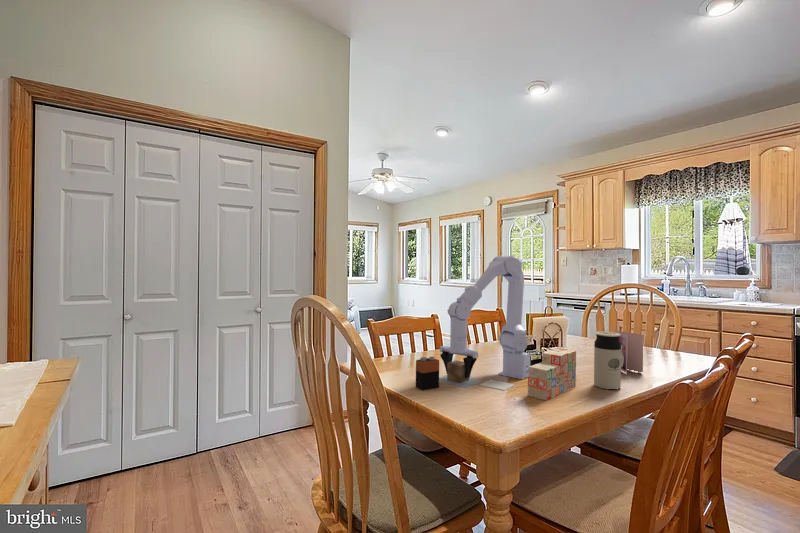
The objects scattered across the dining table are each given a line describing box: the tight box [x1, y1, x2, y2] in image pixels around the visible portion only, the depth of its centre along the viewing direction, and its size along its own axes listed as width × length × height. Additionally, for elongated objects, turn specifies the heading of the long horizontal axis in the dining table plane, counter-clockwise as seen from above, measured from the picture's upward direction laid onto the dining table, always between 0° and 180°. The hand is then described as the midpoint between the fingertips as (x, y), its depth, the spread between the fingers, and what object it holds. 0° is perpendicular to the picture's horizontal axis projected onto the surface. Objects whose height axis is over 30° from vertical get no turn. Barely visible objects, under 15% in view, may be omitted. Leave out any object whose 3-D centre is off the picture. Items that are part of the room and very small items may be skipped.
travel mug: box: [593, 331, 622, 390], centre depth 135 cm, size 8×8×18 cm
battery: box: [415, 356, 440, 391], centre depth 132 cm, size 4×7×10 cm, turn 121°
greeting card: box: [614, 330, 644, 374], centre depth 155 cm, size 11×7×15 cm, turn 174°
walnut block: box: [446, 359, 469, 383], centre depth 141 cm, size 6×6×6 cm
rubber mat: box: [479, 379, 516, 392], centre depth 135 cm, size 9×8×1 cm
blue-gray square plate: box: [439, 374, 484, 389], centre depth 141 cm, size 13×12×1 cm
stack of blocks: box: [527, 348, 577, 401], centre depth 130 cm, size 21×6×12 cm, turn 134°
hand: (458, 375), depth 141 cm, fingers open, 7 cm apart
